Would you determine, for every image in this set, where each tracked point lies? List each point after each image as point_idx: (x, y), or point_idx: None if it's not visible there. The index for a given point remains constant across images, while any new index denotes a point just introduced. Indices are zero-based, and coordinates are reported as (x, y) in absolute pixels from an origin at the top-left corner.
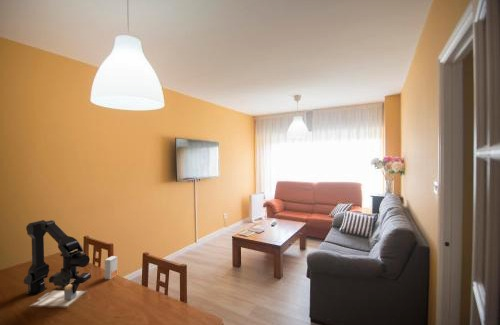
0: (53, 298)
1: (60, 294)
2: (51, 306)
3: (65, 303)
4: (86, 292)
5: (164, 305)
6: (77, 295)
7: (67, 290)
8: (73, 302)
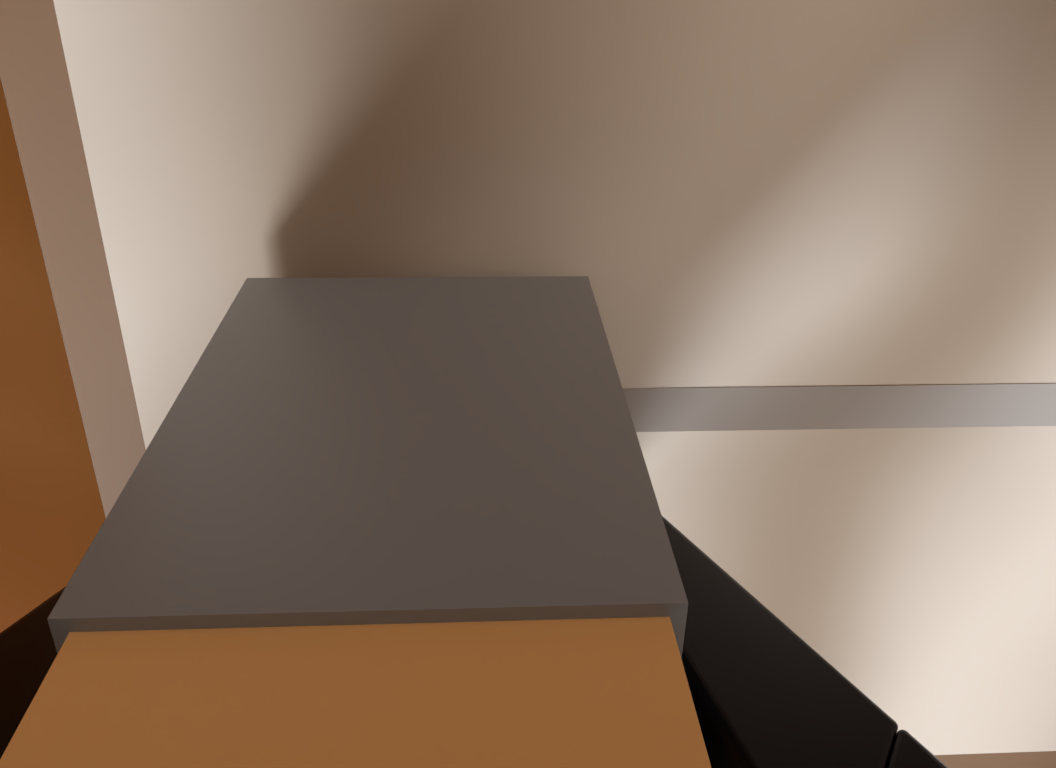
0: None
1: (1030, 588)
2: None
3: (311, 14)
4: None
5: None
6: None
7: (381, 568)
8: (32, 151)
